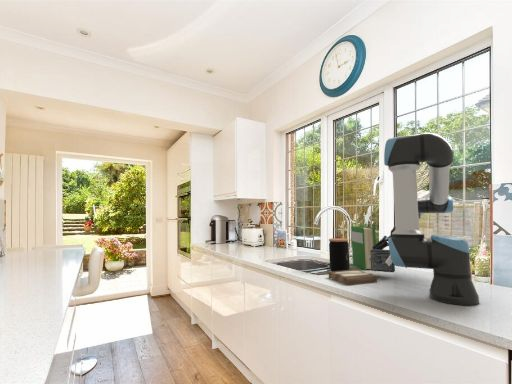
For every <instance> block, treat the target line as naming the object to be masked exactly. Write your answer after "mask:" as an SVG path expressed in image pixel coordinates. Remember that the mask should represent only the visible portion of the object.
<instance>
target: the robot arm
mask: <svg viewBox="0 0 512 384" xmlns="http://www.w3.org/2000/svg"><path fill="white" fill-rule="evenodd" d="M384 144H385V145H384V151H383V152H384V153H383V154H384V155H383V163H384V166H386V167H388V170H389V171H390V173H392V186H393V200H394V203H393V204H394V206H393V207H394V208H393V209H394V221H395V222H394V223H395V224H394V226H393V227H392V229H391V230H390V235H389V236H387V235H384V236H383V237H382V238H381V239H380V240H379V241H378V242H376V245H374V246H373V247H372V248H373V249H379V250H385V248H387V247H388V250H390V256H389V257H388V259H387V260H386V262H385V263H386V264H387V265H388V266H390V265H391V264H392V262H393V264H394V265H395V267H400V268H405V269H407V268H413V269H424V270H425V269H426V270H433V271H432V273H433V278H432V281H431V284H430V288H429V292H428V293H429V297H430V298H431V299H433V300H434V301H437V302H441V303H444V304H451V305H457V306H459V305H460V306H475V305H478V304H479V303H480V296H479V294H478V292H477V289H476V287H475V285H474V282H473V280H472V272H471V271H472V270H471V260H470V254H471V251H470V247H469V243H468V241H467V240H466V239H463V238H461V237H455V236H447V235H442V234H441V235H440V234H432V235H430V238H425V233H424V232H423V231H422V230H421V229H420V219H421V216H422V215H423V214H447V213H452V212H453V211H454V201H453V200H454V199H453V198H452V197H450V196H449V192H450V191H449V190H450V172H451V171H450V170H451V165H452V164H453V162H454V157H455V156H454V150H453V148H452V146H451V144H450V143H449V142H448V141H447V140H446V139H445V138H444V137H442V136H441V135H439V134H436V133H432V132H424V133H418V134H409V135H408V134H407V135H402V136H396V137H391V138H388V139H387V140H386V142H385V143H384ZM420 163H426V164H427V166H428V178H429V179H428V185H429V192H428V193H429V197H421V198H418V189H417V188H418V187H417V186H418V185H417V170H418V169H419V168H420V167H421V166H420ZM368 259H369V260H370V261H371V255H370V257H369V258H368Z"/></svg>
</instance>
